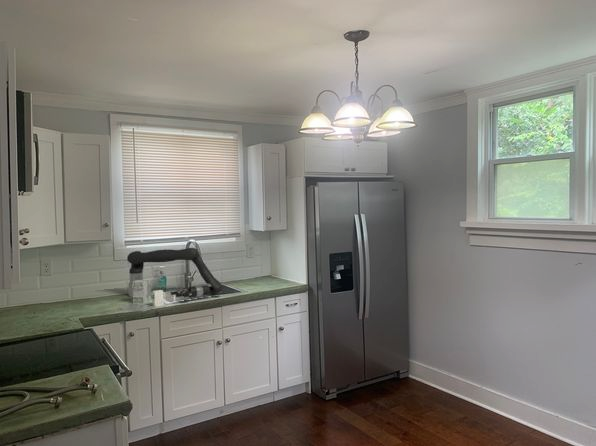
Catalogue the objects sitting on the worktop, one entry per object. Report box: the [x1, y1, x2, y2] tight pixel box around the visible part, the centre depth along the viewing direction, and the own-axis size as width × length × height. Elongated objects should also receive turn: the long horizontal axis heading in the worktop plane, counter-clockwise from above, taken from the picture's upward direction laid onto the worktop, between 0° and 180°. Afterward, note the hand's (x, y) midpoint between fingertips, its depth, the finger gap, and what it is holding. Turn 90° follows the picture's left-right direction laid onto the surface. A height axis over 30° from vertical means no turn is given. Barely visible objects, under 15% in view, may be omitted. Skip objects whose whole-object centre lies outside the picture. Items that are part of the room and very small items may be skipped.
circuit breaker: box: [132, 279, 152, 305], centre depth 315 cm, size 8×14×15 cm, turn 174°
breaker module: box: [150, 289, 165, 308], centre depth 301 cm, size 4×7×10 cm, turn 128°
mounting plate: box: [118, 303, 157, 312], centre depth 295 cm, size 20×12×1 cm, turn 68°
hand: (173, 294), depth 309 cm, fingers open, 8 cm apart
